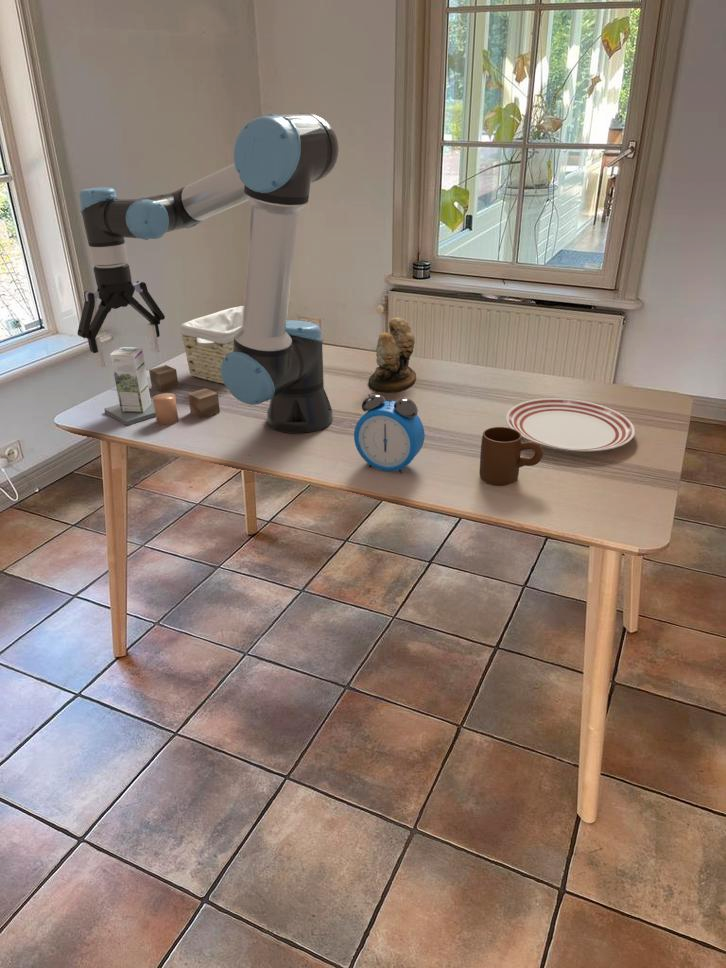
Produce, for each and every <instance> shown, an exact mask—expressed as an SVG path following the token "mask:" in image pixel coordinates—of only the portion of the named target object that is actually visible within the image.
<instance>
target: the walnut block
mask: <svg viewBox="0 0 726 968" xmlns="http://www.w3.org/2000/svg"><path fill="white" fill-rule="evenodd" d="M187 396H188V404H189V409H190V414H192V415H194V416H196V417H198V418H200V419H202V418H203V419H205V417H206V418H208V416H209V417H212V416H214V414H215V415H217V414H216V413H218V414H220V413H221V411H220V409H221V408H220V401H219V394H218V392H215V391H213V390H211V389H209V388H207V387H206V388H202V389H198V390H195V391H192V392H188V394H187ZM219 412H220V413H219ZM211 415H212V416H211Z"/></svg>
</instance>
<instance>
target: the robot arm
mask: <svg viewBox="0 0 726 968" xmlns="http://www.w3.org/2000/svg"><path fill="white" fill-rule="evenodd" d="M339 149H340V147H339V140H338V136H337V135H336V132H335V130H334V129H333V127H332V125H330V124H329V122H328V121H326V120H325V119H324V118H323V117H321V116H319V115H317V114H313V113H309V112H304V113H302V112H301V113H300V112H299V113H289V114H288V113H287V114H286V113H285V114H283V113H282V114H275V113H271V114H265V115H262V116H259V117H256V118H254V119H252V120H250V121H249V122H247V123H246V125H244V126H243V127H242V129H241V130H240V131H239V133H238V135H237V137H236V139H235V142H234V147H233V163H231V164H229V165H227V166H225V167H223V168H221V169H219V170H217V171H214V172H213V173H212V172H211V174H208V175H206V176H204V177H202V178H200V179H198V180H196V181H193V182H191V183H189V184H188V185H186V186H183V187H180V188H178V189H177V190H175V191H172V192H168V193H165V194H157V195H152V196H147V197H141V198H131V199H129V198H128V199H122V198H121V199H119V197H118V196H117V193H116V189H115V188H112V187H91V188H84V189H81V190H80V191H79V195H78V196H79V197H78V198H79V203H80V213H81V215H82V219H83V225H84V231H85V235H86V238H87V243H88V250H89V253H90V258H91V264H92V265H94V267H93V275H94V277H95V278H94V279H95V283H96V286H97V289H96V291H88V290H87V291H84V292H83V297H84V298H83V299H84V304H83V309H82V312H81V316H80V320H79V323H78V324H79V325H78V329H77V336H79V337H81V338H83V339H87V342H88V347H89V351H90V352H91V353H93V354H94V356H95V360H96V365H97V366H99V367H101V368H105V367H107V366H106V361H105V356H104V352H103V348H102V342H101V339H100V337H98V334H99V332H100V330H101V328H102V325H104V322H105V320H106V319H107V315H108V314H109V313H110V312H111V311H112V309H114V310H116V309H120V308H126V307H128V306H130V307H132V308H133V309H134V310H135V311H136V312H138V313H139V314H140V315H141V316H142V317H143V318H145V319H146V320H147V321H148V323H146V330H147V335H148V341H149V347H150V351H151V352H153V353H155V354H158V353H160V347H159V341H158V338H160V336H161V335H160V328H159V325H160V324H161V321H163V320H165V319H166V318H165V317H166V316H165V314H164V313H163V311H162V310H161V308H160V307H159V305H158V304H157V302H156V301H155V299H154V298H153V297H152V295H151V294H150V292H149V291H148V286H147V283H146V282H144V281H140V280H137V281H136V283H133V282H132V273H131V269H130V268H131V267H130V265H129V264H128V261H129V256H128V252H127V247H126V240H125V238H130V239H141V240H144V241H148V240H158V239H161V238H162V237H163V236H164V235H165V234H166V233H169V232H172V231H178V230H183V229H190V228H192V227H196V226H197V225H200V224H201V223H202V222H203V221H204V220H206V219H208V218H211V217H213V216H215V215H219V214H220V213H223V212H225V211H227V210H230V209H231V208H235V207H237V206H239V205H242V204H244V203H246V202H250V204H251V206H250V207H251V209H250V210H251V211H250V223H249V234H248V237H249V238H248V249H247V261H246V274H245V275H246V278H245V291H244V300H243V301H244V302H243V303H244V304H243V306H244V314H243V326H242V327H240V328H239V329H237V330H236V331H235V334H234V344H233V352H230V353H229V354H228V355H227V356H226V357H225V358H224V359H223V361H222V364H221V376H222V379H223V382H224V386H225V388H227V390H228V391H229V393H230V394H231V395H232V396H233V397H234V398H236V399H237V400H238V401H239V402H241V403H243V404H246V405H251V406H252V405H253V406H255V405H259V404H263V403H265V402H268V401H269V406H268V409H267V411H266V415H267V417H266V418H267V424H268V426H269V427H271V428H272V429H274V430H276V431H279V432H282V433H289V434H307V433H311V432H312V433H313V432H316V431H320V430H323V429H325V428H327V427H329V426H330V425H331V423H332V422H333V418H334V414H333V408H332V406H331V403H330V400H329V397H328V394H327V392H326V389H325V384H324V383H325V382H324V359H323V354H324V353H323V342H324V340H323V337H322V329H321V328H320V326H319V325H318V324H316V323H314V322H310V321H304V320H296V319H295V320H293V319H290V320H289V319H288V312H289V304H290V303H289V302H290V292H291V284H292V275H293V268H294V267H293V266H294V259H295V258H294V256H295V248H296V241H297V231H298V222H299V221H298V220H299V213H300V210H302V209H303V208H305V207H306V206H307V205H308V204H309V198H310V191H311V190H310V189H311V184H312V183H314V182H318V181H321V180H322V179H324V178H325V177H327V176H328V175H329V174H330V173H331V172H332V171H333V169H334V168H335V166H336V163H337V162H338V158H339ZM135 292H137V293H138V294H139V296H140V297H141V298H142V300H143V301H144V303H145V304H146V305H147V307H148V309H150V311H149V310H147V308H145V307H144V306H143V305H142V304H141V303H139V301H138V300H137V299H136V298H135V297H133V296H134V293H135ZM98 299H99V300H100V302H99V305H98V309H97V311H96V312H95V315H94V316H93V314H94V310H95V306H96V302H97V300H98ZM287 319H288V320H287Z"/></svg>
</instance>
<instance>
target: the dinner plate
mask: <svg viewBox="0 0 726 968" xmlns="http://www.w3.org/2000/svg"><path fill="white" fill-rule="evenodd" d="M505 421H506V423H507V425H508V428H511V429H514V430H517V431H518V432H520V433H521V436H522V438H523V439H525V440H527V441H533V442H536V443H538V444H539V445H540V446H541V447H545V448H549V449H553V450H557V451H563V452H564V451H565V452H573V453H577V452H578V453H589V452H602V451H607V450H609V451H610V450H612V449H617V448H620V447H622V446H624V445H626V444H628V443H629V442H631V440H633V438H634V437H635V433H636V428H635V426H634V424H633V423H632V422H631V420H630V419H629V418H628V417H626V416H625V415H623V413H621V412H618V411H617V410H614V409H612V408H609V407H607V406H605V405H601V404H597V403H594V402H589V401H585V400H578V399H573V398H561V397H557V398H556V397H555V398H554V397H552V398H550V397H548V398H545V397H544V398H535V399H530V400H527V401H525V400H524V401H522V402H520V403H518V404H515V405H514V406H512V407H511V408H510V409H509V410H508V411H507V413H506V415H505Z"/></svg>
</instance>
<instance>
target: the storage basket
mask: <svg viewBox="0 0 726 968" xmlns="http://www.w3.org/2000/svg"><path fill="white" fill-rule="evenodd" d="M243 314H244V305H239V306H236V307H230V308H227V309H223V310H219V311H217V312H214V313H210V314H207V315H204V316H200V317H197V318H194V319H191V320H189V321H187V322H183V323H181V325H180V333H181V339H182V341H183V345H184V350H185V356H186V360H187V365H188V370H189V374H190V376H192V377H195V378H198V379H202V380H208V381H210V382H214V383H217V384H224V382H223V379H222V376H221V364H222V361H223V359H224V358H225V357H226V356H227V355H228V354H229V353H230V352H233V344H234V334H235V331H236V330H237V329H239V328H240V327H242V326H243ZM224 385H225V384H224Z"/></svg>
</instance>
